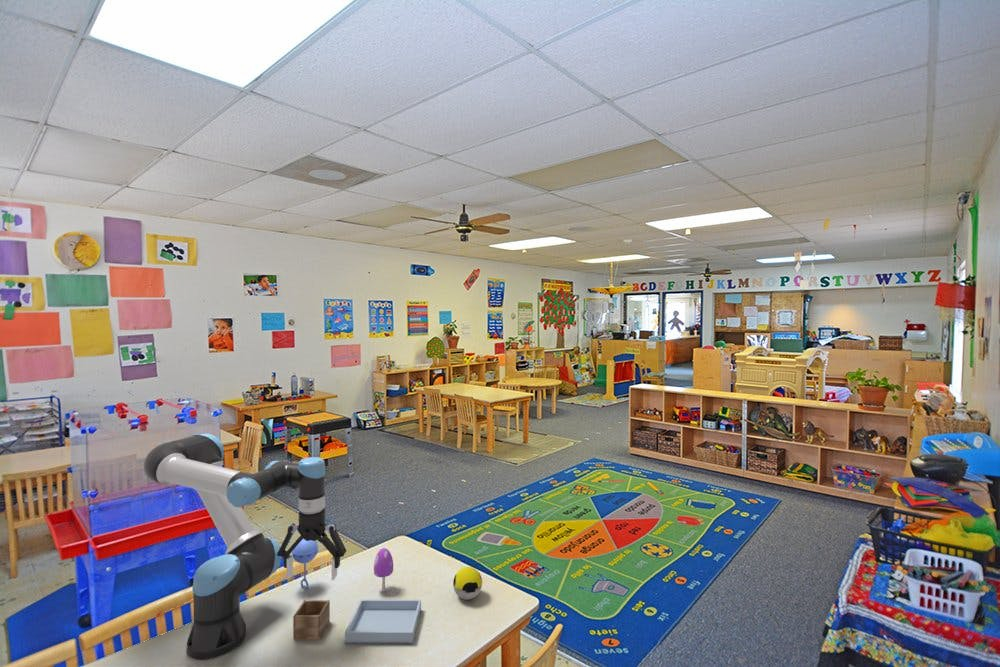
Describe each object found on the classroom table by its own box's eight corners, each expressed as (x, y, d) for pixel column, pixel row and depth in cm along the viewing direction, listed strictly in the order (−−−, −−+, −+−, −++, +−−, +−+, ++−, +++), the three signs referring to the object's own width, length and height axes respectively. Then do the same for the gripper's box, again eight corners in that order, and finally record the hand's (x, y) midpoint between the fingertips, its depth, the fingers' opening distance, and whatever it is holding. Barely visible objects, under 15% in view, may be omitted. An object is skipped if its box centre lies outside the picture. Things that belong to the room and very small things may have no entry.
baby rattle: (323, 586, 166) (323, 537, 165) (302, 598, 158) (301, 547, 158) (308, 579, 170) (308, 531, 170) (286, 590, 163) (286, 540, 162)
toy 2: (478, 586, 166) (478, 559, 166) (485, 604, 156) (485, 575, 156) (450, 591, 164) (451, 563, 163) (456, 608, 154) (456, 579, 153)
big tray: (344, 644, 137) (344, 632, 136) (360, 609, 153) (360, 599, 152) (412, 644, 137) (412, 632, 137) (421, 610, 153) (421, 599, 153)
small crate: (293, 639, 138) (293, 616, 138) (304, 621, 146) (304, 600, 146) (320, 639, 139) (320, 616, 138) (329, 621, 147) (329, 600, 146)
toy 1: (388, 597, 160) (388, 554, 159) (370, 594, 161) (370, 552, 161) (396, 586, 166) (396, 545, 166) (379, 583, 168) (379, 543, 167)
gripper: (264, 514, 137) (265, 584, 138) (349, 514, 138) (349, 584, 139) (276, 504, 145) (276, 570, 146) (356, 504, 145) (356, 571, 146)
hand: (312, 577), depth 142 cm, fingers open, 13 cm apart
